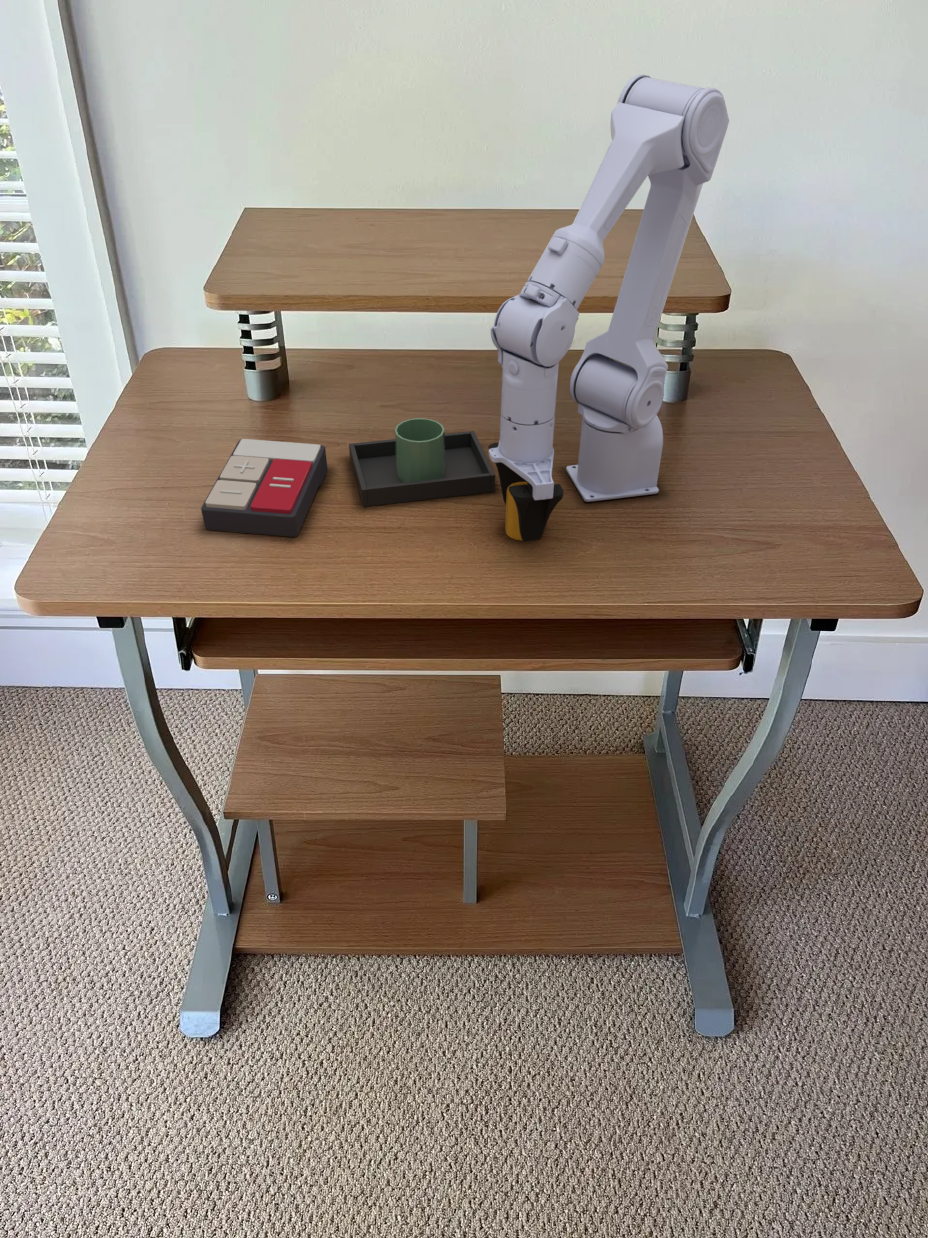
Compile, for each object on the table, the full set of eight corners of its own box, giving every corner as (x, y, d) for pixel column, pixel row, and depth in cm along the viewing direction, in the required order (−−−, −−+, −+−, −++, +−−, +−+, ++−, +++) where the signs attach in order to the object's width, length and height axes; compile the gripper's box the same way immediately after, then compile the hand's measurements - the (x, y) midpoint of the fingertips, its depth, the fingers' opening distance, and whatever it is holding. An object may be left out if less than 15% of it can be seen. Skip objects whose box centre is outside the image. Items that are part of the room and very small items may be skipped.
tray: (473, 446, 129) (474, 430, 127) (494, 491, 120) (495, 474, 119) (350, 460, 126) (348, 443, 124) (362, 507, 117) (361, 489, 116)
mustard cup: (532, 520, 115) (534, 479, 112) (541, 538, 112) (544, 497, 109) (501, 524, 115) (503, 483, 111) (510, 542, 112) (512, 501, 108)
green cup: (438, 458, 125) (438, 415, 122) (448, 482, 121) (448, 438, 117) (393, 463, 124) (391, 420, 120) (401, 487, 120) (399, 444, 116)
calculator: (198, 503, 111) (238, 433, 122) (204, 534, 114) (243, 462, 125) (293, 511, 110) (325, 439, 121) (297, 542, 113) (328, 469, 124)
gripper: (475, 385, 109) (473, 491, 117) (508, 450, 98) (504, 561, 106) (536, 379, 110) (530, 484, 119) (576, 442, 99) (566, 553, 108)
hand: (521, 520), depth 113 cm, fingers open, 7 cm apart
